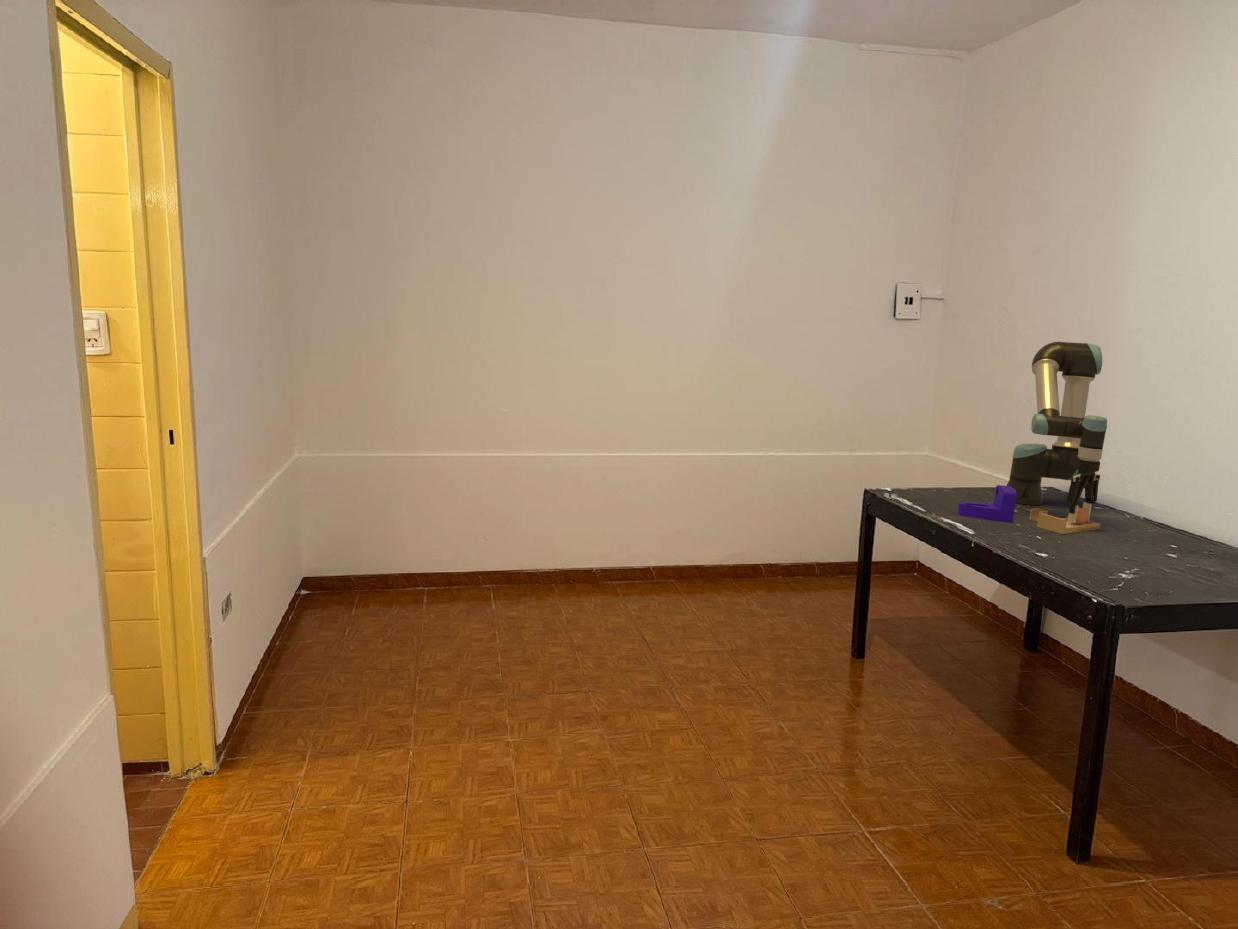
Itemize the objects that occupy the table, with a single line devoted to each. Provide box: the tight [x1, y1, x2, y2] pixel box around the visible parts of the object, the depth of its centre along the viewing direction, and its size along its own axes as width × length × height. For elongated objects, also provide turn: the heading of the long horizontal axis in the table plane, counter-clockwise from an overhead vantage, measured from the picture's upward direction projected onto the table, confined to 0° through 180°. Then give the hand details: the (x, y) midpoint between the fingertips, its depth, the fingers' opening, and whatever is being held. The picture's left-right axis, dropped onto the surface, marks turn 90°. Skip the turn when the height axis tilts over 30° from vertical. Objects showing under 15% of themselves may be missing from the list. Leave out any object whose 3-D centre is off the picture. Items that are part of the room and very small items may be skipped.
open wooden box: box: [1029, 507, 1049, 523], centre depth 319 cm, size 4×4×4 cm
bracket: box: [957, 484, 1017, 524], centre depth 319 cm, size 18×11×12 cm, turn 80°
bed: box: [1036, 513, 1101, 535], centre depth 310 cm, size 22×10×5 cm, turn 119°
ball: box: [1075, 507, 1090, 524], centre depth 313 cm, size 6×6×6 cm
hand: (1078, 521), depth 313 cm, fingers open, 7 cm apart
